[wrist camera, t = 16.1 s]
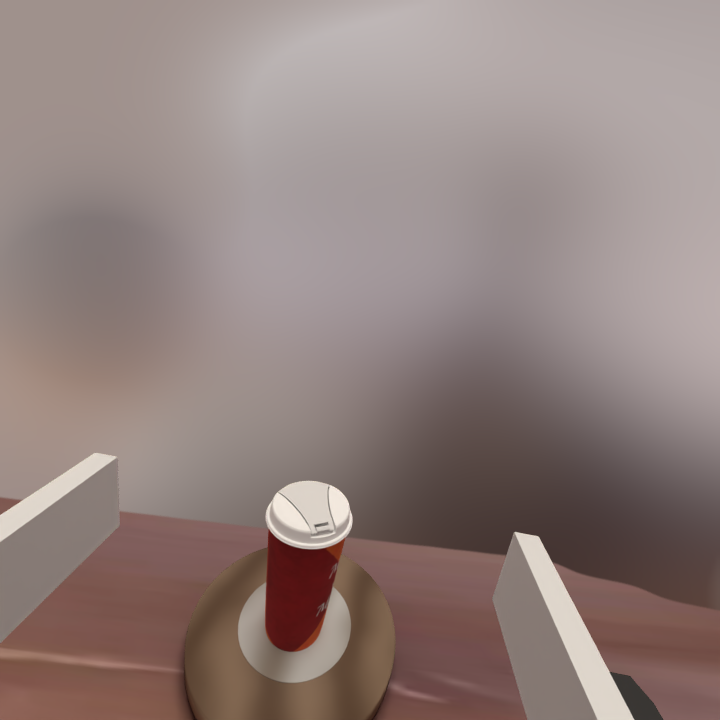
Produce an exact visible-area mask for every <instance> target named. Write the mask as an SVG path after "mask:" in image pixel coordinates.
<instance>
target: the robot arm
mask: <svg viewBox="0 0 720 720" xmlns="http://www.w3.org/2000/svg"><path fill="white" fill-rule="evenodd" d="M119 526H120V520H119V489H118V459H117V457H115V456H110V455H104V454H99V453H94V454H93V455H91V456H90V457H88V458H87V459H85V460H84V461H82V462H81V463H79V464H77V465H76V466H74V467H73V468H71V469H70V470H68V471H67V472H65V473H64V474H62V475H61V476H59V477H58V478H56V479H55V480H53V481H52V482H50V483H49V484H47V485H46V486H44V487H43V488H41V489H39V490H38V491H36V492H35V493H33V494H32V495H30V496H29V497H28V498H26V499H24V500H23V501H21V502H20V503H18V504H17V505H15V506H14V507H12V508H11V509H9V510H8V511H6V512H4V513H3V514H1V515H0V643H1V642H2V641H3V640H4V639H5V638H6V637H7V636H8V635H9V634H10V633H11V632H12V631H13V630H14V629H15V628H16V627H17V626H18V625H19V624H20V623H21V622H22V621H23V620H24V619H25V618H26V617H27V616H28V615H29V614H30V613H31V612H32V611H33V610H34V609H35V608H36V607H37V606H38V605H39V604H40V603H41V602H42V601H43V600H45V599H46V598H47V597H48V596H49V595H50V594H51V593H52V592H53V591H54V590H55V589H56V588H57V587H58V586H59V585H60V584H61V583H62V582H63V581H64V580H65V579H66V578H67V577H68V576H69V575H70V574H71V573H72V572H73V571H74V570H75V569H76V568H77V567H78V566H79V565H80V564H81V563H82V562H83V561H84V560H85V559H86V558H87V557H88V556H89V555H90V554H91V553H92V552H93V551H94V550H95V549H96V548H97V547H98V546H99V545H100V544H101V543H102V542H103V541H104V540H106V539H107V538H108V537H109V536H110V535H111V534H112V533H113V532H114V531H115V530H116V529H117V528H118V527H119ZM492 600H493V603H494V606H495V610H496V613H497V617H498V620H499V624H500V627H501V630H502V634H503V637H504V641H505V644H506V648H507V651H508V654H509V658H510V661H511V665H512V668H513V672H514V675H515V678H516V682H517V685H518V689H519V692H520V695H521V699H522V702H523V706H524V709H525V713H526V716H527V719H528V720H663V718H662V717H661V715H660V713H659V711H658V710H657V708H656V706H655V705H654V703H653V702H652V701H651V700H650V699H649V697H648V696H647V695H646V694H645V693H644V692H643V691H642V689H641V688H640V687H639V686H638V685H637V684H636V683H635V681H634V680H633V679H632V678H631V677H630V676H627V675H622V674H617V673H612V672H609V670H608V669H607V667H606V665H605V663H604V661H603V659H602V657H601V655H600V653H599V651H598V649H597V647H596V646H595V644H594V642H593V640H592V638H591V636H590V634H589V632H588V630H587V628H586V626H585V625H584V623H583V621H582V619H581V617H580V615H579V613H578V611H577V609H576V607H575V605H574V603H573V602H572V600H571V598H570V596H569V594H568V592H567V590H566V588H565V586H564V584H563V582H562V581H561V579H560V577H559V575H558V573H557V571H556V569H555V567H554V565H553V563H552V561H551V560H550V558H549V556H548V554H547V552H546V550H545V548H544V546H543V544H542V543H541V540H540V538H539V537H538V536H533V535H527V534H522V533H517V532H514V534H513V538H512V540H511V543H510V547H509V550H508V553H507V556H506V559H505V562H504V565H503V568H502V571H501V574H500V577H499V580H498V583H497V586H496V589H495V592H494V595H493V598H492Z"/></svg>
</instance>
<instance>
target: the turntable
mask: <svg viewBox="0 0 720 720" xmlns="http://www.w3.org/2000/svg"><path fill="white" fill-rule="evenodd" d="M267 554H268V548H264V549H261V550H259V551H256V552H253V553H251V554H249V555H247V556H245V557H243V558H241V559H240V560H238V561H236V562H235V563H233V564H232V565H231V566H229V567H228V568H227V569H225V570H224V571H223V572H222V573H221V574H220V575H219V576H218V577H217V578H216V579H215V580H214V581H213V582H212V583H211V584H210V586H209V587H208V588H207V589H206V591H205V592H204V594H203V595H202V597H201V598H200V600H199V602H198V604H197V606H196V608H195V610H194V612H193V614H192V617H191V620H190V623H189V626H188V631H187V636H186V641H185V662H184V675H185V687H186V691H187V696H188V700H189V703H190V706H191V708H192V711H193V713H194V716H195V718H196V719H197V720H372V719H373V717H374V716H375V714H376V713H377V711H378V709H379V706H380V704H381V702H382V700H383V698H384V695H385V692H386V689H387V686H388V683H389V679H390V675H391V671H392V666H393V661H394V656H395V628H394V623H393V618H392V614H391V611H390V608H389V605H388V603H387V601H386V599H385V597H384V594H383V593H382V591H381V590H380V588H379V586H378V585H377V584H376V582H375V581H374V580H373V579H372V577H371V576H370V575H369V574H368V573H367V572H366V571H365V570H364V569H363V568H362V567H360V566H359V565H358V564H357V563H355V562H354V561H352V560H351V559H349V558H348V557H346V556H344V555H342V554H341V556H340V560H339V564H338V568H337V572H336V576H335V580H334V584H333V588H332V592H331V596H330V599H329V603H328V607H327V611H326V615H325V618H324V622H323V625H322V628H321V631H320V634H319V636H318V638H317V639H316V640H315V642H314V643H313V644H312V645H310V646H309V647H308V648H306V649H304V650H301V651H297V652H288V651H283V650H281V649H279V648H277V647H276V646H274V645H273V644H272V643H271V641H270V640H269V638H268V636H267V634H266V629H265V600H266V576H267Z"/></svg>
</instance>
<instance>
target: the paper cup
mask: <svg viewBox="0 0 720 720" xmlns="http://www.w3.org/2000/svg"><path fill="white" fill-rule="evenodd" d="M329 486H330V485H328V484H324V483H321V482H315V481H301V482H296V483H292V484H290V485H287V486H286V487H284V488H283V489H281V490H280V491H279V492H277V494H276V495H275V497H274V498H273V501H272V502H271V503H270V504H269V506H268V508H267V511H266V523H267V526H268V528H269V533H268V554H267V576H266V600H265V629H266V634H267V636H268V638H269V640H270V641H271V643H272V644H273V645H274V646H276V647H277V648H279V649H281V650H283V651H288V652H297V651H301V650H304V649H306V648H308V647H309V646H310V645H312V644H313V643H314V642H315V640H316V639H317V638H318V636H319V634H320V631H321V628H322V625H323V622H324V618H325V615H326V611H327V607H328V603H329V599H330V596H331V592H332V588H333V584H334V580H335V576H336V572H337V568H338V564H339V560H340V556H341V552H342V548H343V545H344V541H345V537H346V536H347V535H348V533H349V532H350V529H351V527H352V514H351V511H350V509H349V508H350V507H349V504H348V501H347V499H346V497H345V496H344V495H343V494H342V493H341V492H340V491H339V490H338V489H336V488H335V487H333V486H330V488H329Z"/></svg>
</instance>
